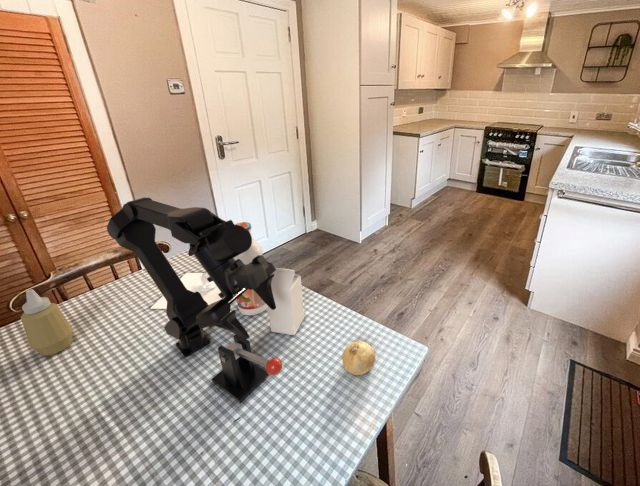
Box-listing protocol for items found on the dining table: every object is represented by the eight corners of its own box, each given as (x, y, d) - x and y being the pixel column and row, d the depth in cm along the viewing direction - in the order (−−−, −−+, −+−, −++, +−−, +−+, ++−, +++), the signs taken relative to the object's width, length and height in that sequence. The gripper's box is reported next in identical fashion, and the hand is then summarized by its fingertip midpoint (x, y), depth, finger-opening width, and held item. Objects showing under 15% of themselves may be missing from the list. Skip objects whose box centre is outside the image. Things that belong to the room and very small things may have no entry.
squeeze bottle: (83, 341, 81) (59, 285, 75) (44, 364, 75) (13, 305, 68) (68, 332, 85) (43, 277, 78) (28, 353, 78) (-3, 295, 71)
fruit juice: (271, 311, 93) (260, 229, 83) (239, 319, 90) (223, 234, 79) (268, 293, 101) (257, 216, 91) (237, 300, 98) (223, 221, 87)
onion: (354, 348, 80) (353, 327, 77) (380, 361, 76) (381, 340, 73) (336, 371, 73) (335, 349, 71) (364, 386, 70) (364, 363, 67)
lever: (287, 369, 62) (283, 356, 61) (275, 381, 59) (271, 368, 58) (239, 350, 70) (235, 338, 69) (227, 359, 68) (222, 347, 67)
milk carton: (294, 336, 84) (288, 277, 77) (271, 332, 85) (262, 274, 78) (304, 318, 90) (299, 263, 83) (282, 315, 92) (276, 260, 85)
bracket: (268, 376, 72) (263, 341, 68) (240, 404, 65) (232, 367, 61) (241, 358, 77) (234, 324, 73) (212, 382, 70) (203, 347, 66)
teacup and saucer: (212, 293, 101) (210, 283, 99) (188, 293, 101) (186, 283, 99) (224, 278, 109) (222, 268, 108) (202, 278, 109) (200, 268, 108)
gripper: (206, 278, 52) (257, 348, 54) (271, 232, 68) (309, 287, 70) (173, 295, 57) (222, 358, 59) (241, 248, 73) (277, 299, 76)
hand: (262, 322), depth 66 cm, fingers open, 9 cm apart
